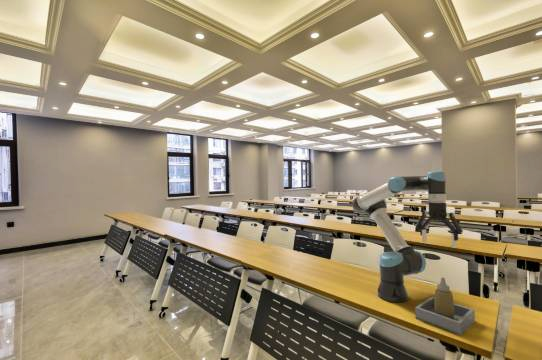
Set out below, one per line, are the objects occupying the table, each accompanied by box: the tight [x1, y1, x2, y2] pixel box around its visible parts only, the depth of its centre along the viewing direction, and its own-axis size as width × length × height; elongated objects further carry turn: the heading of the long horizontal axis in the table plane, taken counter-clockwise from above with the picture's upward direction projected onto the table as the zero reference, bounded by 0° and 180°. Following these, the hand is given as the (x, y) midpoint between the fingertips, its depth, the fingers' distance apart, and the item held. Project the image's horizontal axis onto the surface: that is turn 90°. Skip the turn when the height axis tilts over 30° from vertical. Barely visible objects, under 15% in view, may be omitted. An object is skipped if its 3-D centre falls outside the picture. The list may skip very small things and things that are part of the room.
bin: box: [414, 296, 476, 337], centre depth 116 cm, size 17×17×5 cm
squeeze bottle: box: [434, 277, 455, 319], centre depth 116 cm, size 8×8×18 cm
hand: (438, 244), depth 128 cm, fingers open, 13 cm apart
